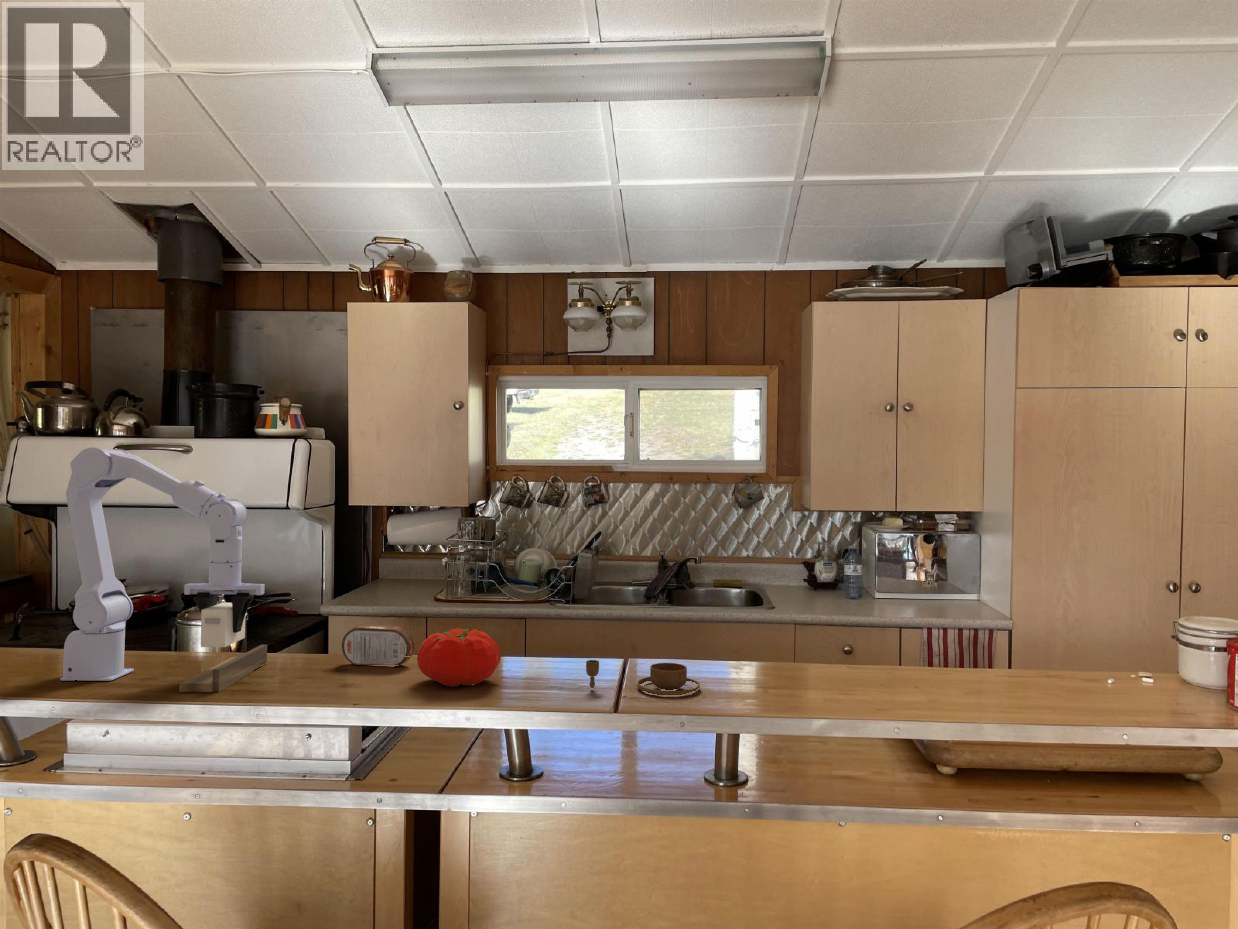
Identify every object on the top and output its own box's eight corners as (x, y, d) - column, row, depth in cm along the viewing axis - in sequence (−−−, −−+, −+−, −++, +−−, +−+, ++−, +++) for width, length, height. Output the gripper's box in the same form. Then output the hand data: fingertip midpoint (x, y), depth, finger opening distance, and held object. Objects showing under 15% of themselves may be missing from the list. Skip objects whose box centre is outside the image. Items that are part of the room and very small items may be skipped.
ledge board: (179, 691, 144) (179, 669, 144) (232, 663, 166) (232, 644, 166) (218, 692, 144) (219, 669, 144) (266, 664, 166) (267, 644, 166)
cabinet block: (198, 648, 150) (199, 610, 150) (221, 637, 159) (222, 602, 160) (222, 648, 150) (223, 610, 150) (244, 637, 160) (245, 602, 160)
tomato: (441, 671, 163) (442, 622, 163) (513, 678, 157) (514, 628, 157) (400, 688, 149) (401, 634, 149) (477, 697, 144) (478, 641, 144)
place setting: (682, 708, 140) (682, 674, 140) (580, 694, 148) (581, 662, 148) (711, 686, 156) (712, 655, 156) (618, 674, 164) (619, 645, 164)
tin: (414, 665, 167) (415, 625, 167) (409, 669, 164) (409, 628, 164) (345, 663, 169) (346, 623, 169) (339, 666, 165) (340, 625, 166)
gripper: (177, 563, 151) (175, 635, 151) (255, 564, 152) (253, 635, 151) (195, 559, 158) (193, 628, 158) (269, 560, 159) (267, 628, 158)
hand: (223, 631), depth 155 cm, fingers closed on cabinet block, 4 cm apart
